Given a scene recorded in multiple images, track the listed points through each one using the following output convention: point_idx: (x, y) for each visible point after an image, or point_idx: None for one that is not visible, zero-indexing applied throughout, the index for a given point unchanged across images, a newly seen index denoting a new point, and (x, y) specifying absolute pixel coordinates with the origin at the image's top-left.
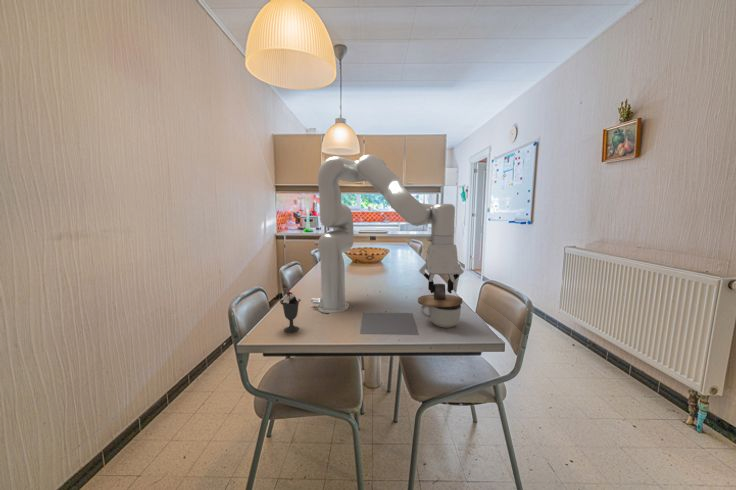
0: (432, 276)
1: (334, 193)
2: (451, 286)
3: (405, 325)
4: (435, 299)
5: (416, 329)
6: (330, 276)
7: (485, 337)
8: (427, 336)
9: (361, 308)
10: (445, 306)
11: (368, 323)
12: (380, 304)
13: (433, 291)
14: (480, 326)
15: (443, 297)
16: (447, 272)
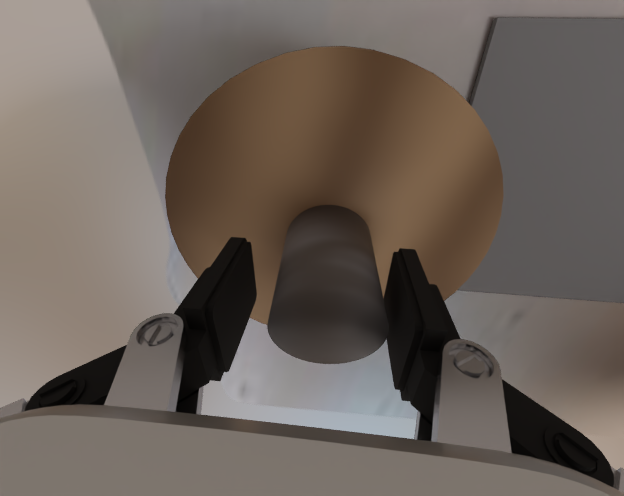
0: (465, 415)
1: None
2: (208, 274)
3: (515, 154)
4: (366, 224)
5: (478, 100)
6: None
7: (133, 13)
8: (443, 17)
9: (611, 345)
10: (331, 46)
11: None
12: (507, 369)
13: (397, 257)
14: (152, 156)
15: (307, 218)
16: (163, 462)
